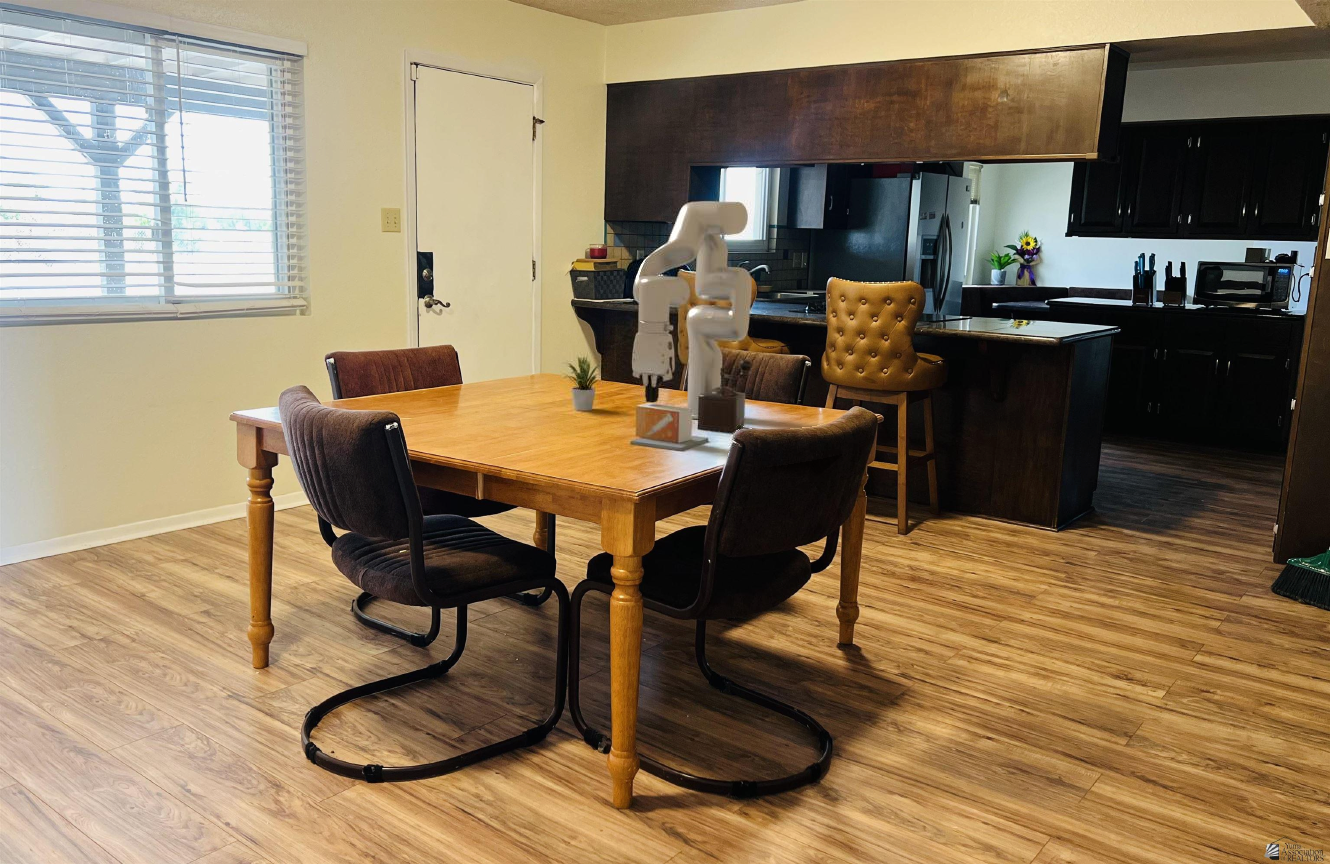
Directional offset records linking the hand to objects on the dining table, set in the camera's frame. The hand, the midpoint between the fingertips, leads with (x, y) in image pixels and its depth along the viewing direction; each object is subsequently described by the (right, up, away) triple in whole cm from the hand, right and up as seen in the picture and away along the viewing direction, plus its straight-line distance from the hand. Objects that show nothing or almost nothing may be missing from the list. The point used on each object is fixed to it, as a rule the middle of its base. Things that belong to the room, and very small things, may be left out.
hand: (651, 401), depth 256 cm
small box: (-3, -5, +2) cm, 6 cm away
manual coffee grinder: (+20, -6, +22) cm, 30 cm away
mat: (+5, -10, -2) cm, 11 cm away
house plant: (-22, -1, +43) cm, 48 cm away
